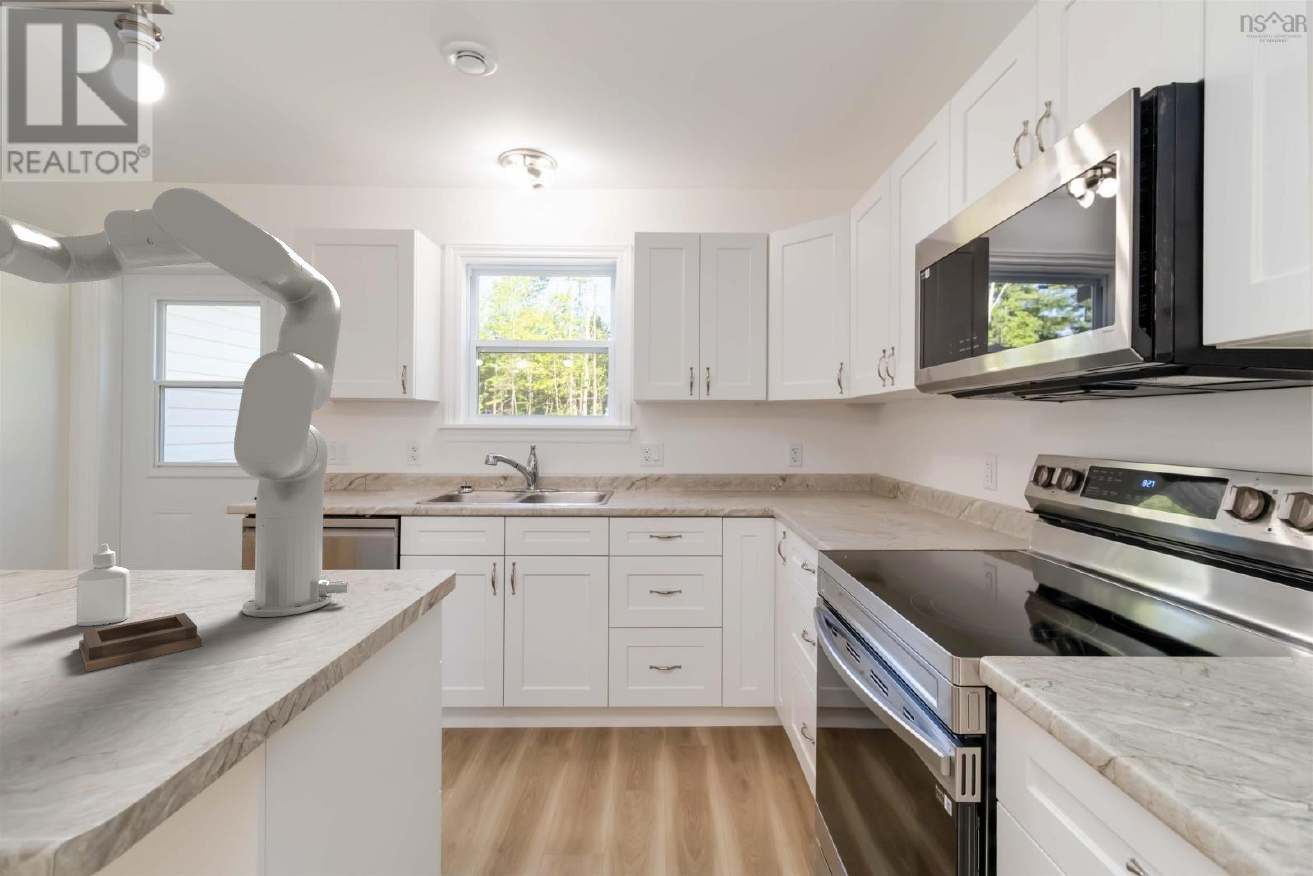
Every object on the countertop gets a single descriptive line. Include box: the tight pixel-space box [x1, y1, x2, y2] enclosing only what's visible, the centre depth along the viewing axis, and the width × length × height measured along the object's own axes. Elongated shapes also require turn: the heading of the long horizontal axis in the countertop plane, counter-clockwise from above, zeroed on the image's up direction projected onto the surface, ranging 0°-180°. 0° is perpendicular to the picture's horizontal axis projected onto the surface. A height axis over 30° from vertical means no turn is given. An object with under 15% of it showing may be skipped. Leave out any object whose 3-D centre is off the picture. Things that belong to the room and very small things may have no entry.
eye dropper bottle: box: [76, 543, 131, 627], centre depth 83 cm, size 4×6×12 cm
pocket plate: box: [78, 612, 203, 673], centre depth 74 cm, size 11×11×2 cm
